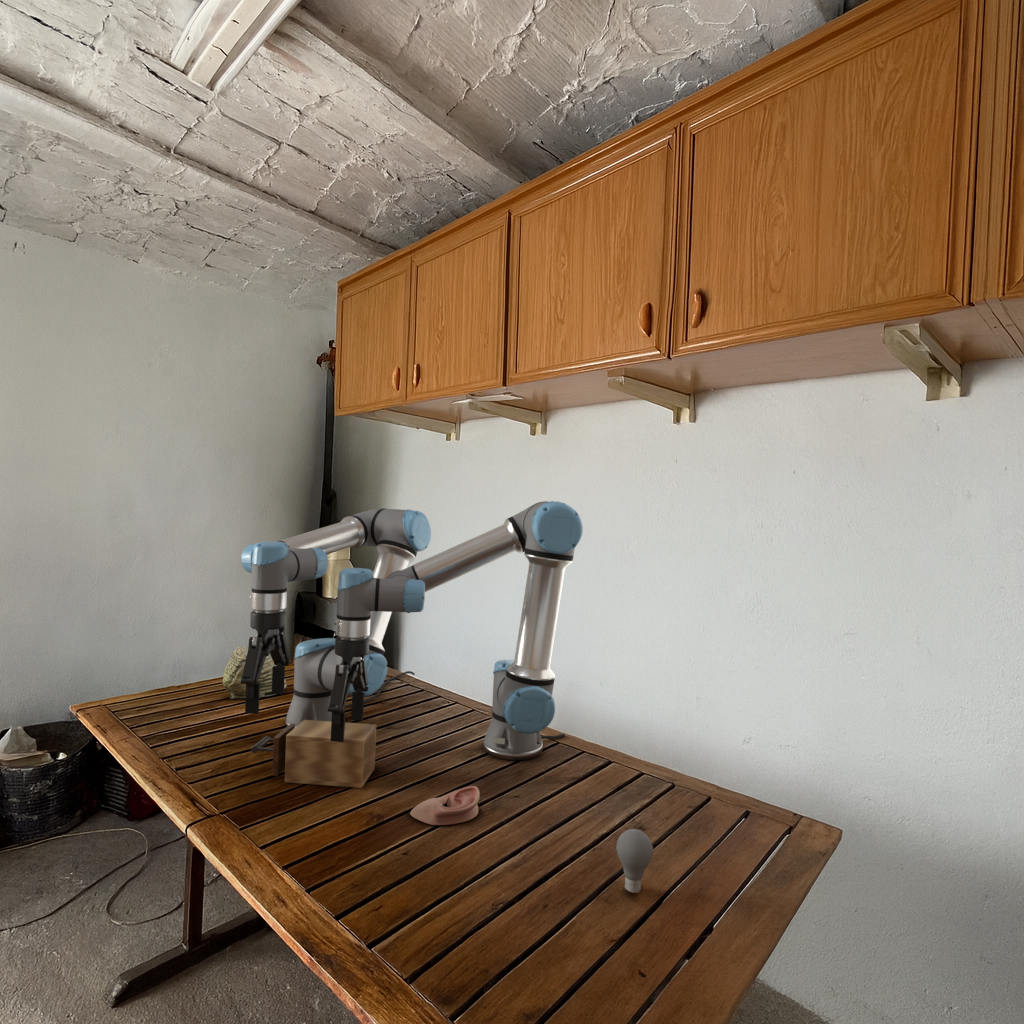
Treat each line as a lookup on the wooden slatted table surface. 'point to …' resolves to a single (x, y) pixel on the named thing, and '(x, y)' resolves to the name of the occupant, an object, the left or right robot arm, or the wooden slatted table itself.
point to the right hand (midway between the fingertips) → (347, 730)
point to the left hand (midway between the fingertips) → (265, 703)
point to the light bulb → (634, 857)
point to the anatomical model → (449, 807)
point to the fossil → (236, 669)
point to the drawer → (275, 749)
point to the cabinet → (330, 754)
